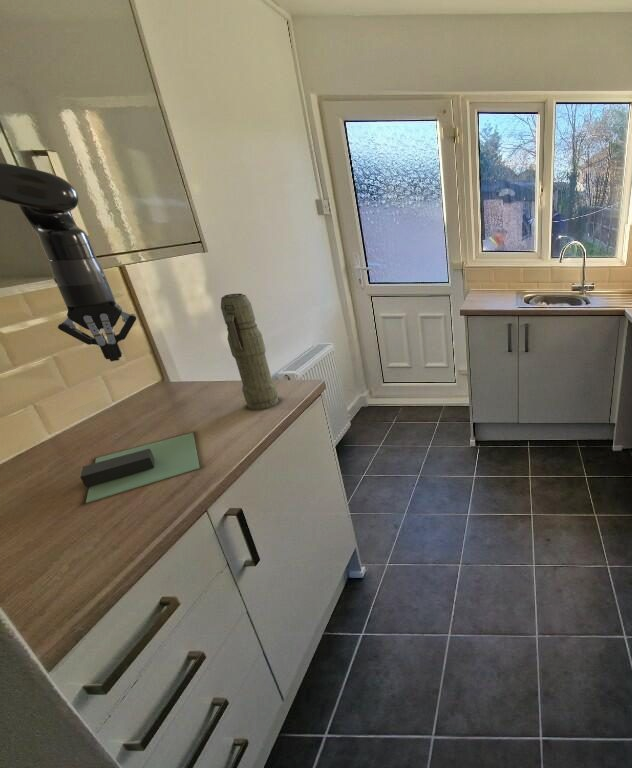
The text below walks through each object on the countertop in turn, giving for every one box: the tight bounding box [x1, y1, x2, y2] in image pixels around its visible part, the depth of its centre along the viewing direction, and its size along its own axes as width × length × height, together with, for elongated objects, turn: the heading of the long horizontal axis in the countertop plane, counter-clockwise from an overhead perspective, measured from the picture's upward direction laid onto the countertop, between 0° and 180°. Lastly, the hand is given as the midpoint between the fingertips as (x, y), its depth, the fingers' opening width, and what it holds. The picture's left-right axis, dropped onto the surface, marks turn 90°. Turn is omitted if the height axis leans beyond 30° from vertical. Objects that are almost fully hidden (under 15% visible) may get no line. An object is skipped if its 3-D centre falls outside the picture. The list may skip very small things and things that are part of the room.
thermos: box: [220, 293, 280, 411], centre depth 125 cm, size 9×12×35 cm
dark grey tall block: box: [80, 449, 154, 489], centre depth 97 cm, size 3×5×12 cm
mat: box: [85, 432, 201, 504], centre depth 102 cm, size 20×22×1 cm
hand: (115, 359), depth 92 cm, fingers closed
